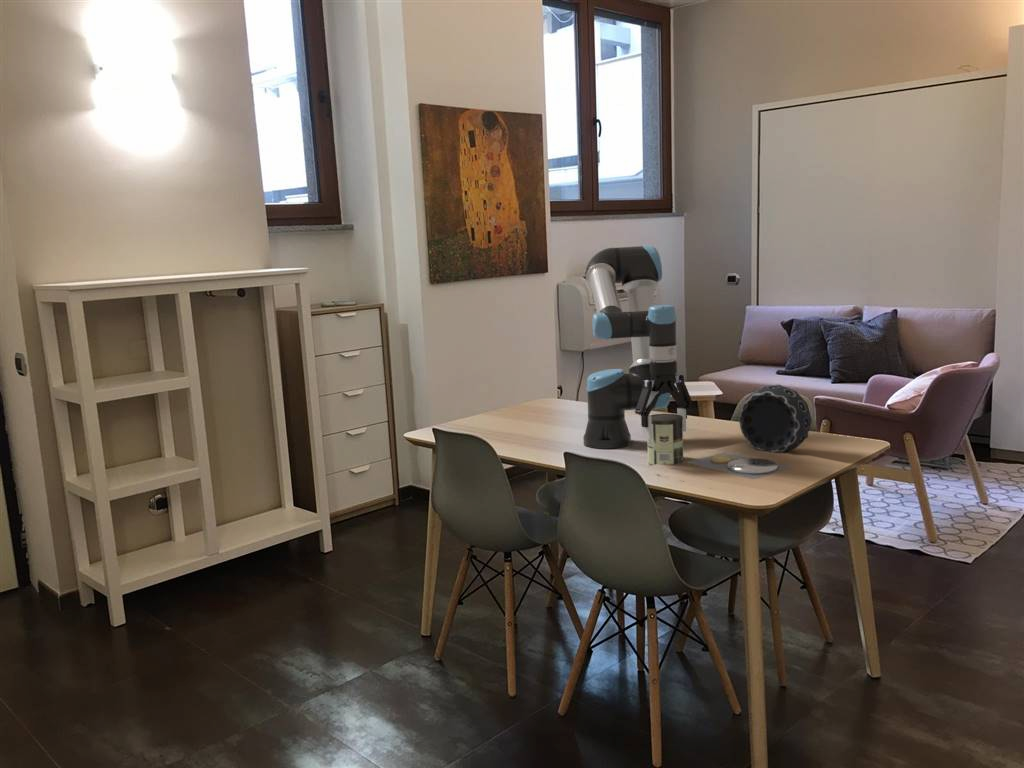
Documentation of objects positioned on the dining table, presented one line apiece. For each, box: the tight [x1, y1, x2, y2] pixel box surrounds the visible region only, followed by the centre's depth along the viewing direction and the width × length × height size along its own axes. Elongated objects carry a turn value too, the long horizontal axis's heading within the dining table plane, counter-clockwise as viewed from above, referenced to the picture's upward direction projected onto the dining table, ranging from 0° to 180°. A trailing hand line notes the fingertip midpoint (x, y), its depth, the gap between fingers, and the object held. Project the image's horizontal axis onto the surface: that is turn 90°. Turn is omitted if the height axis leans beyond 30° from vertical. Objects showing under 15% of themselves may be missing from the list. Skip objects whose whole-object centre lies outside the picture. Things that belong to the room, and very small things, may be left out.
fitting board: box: [685, 451, 793, 480], centre depth 242 cm, size 24×16×2 cm, turn 35°
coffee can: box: [646, 413, 684, 467], centre depth 250 cm, size 10×10×14 cm
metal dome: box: [728, 457, 778, 475], centre depth 238 cm, size 13×13×1 cm
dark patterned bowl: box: [738, 384, 813, 453], centre depth 257 cm, size 11×20×20 cm, turn 51°
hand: (665, 434), depth 249 cm, fingers open, 13 cm apart
